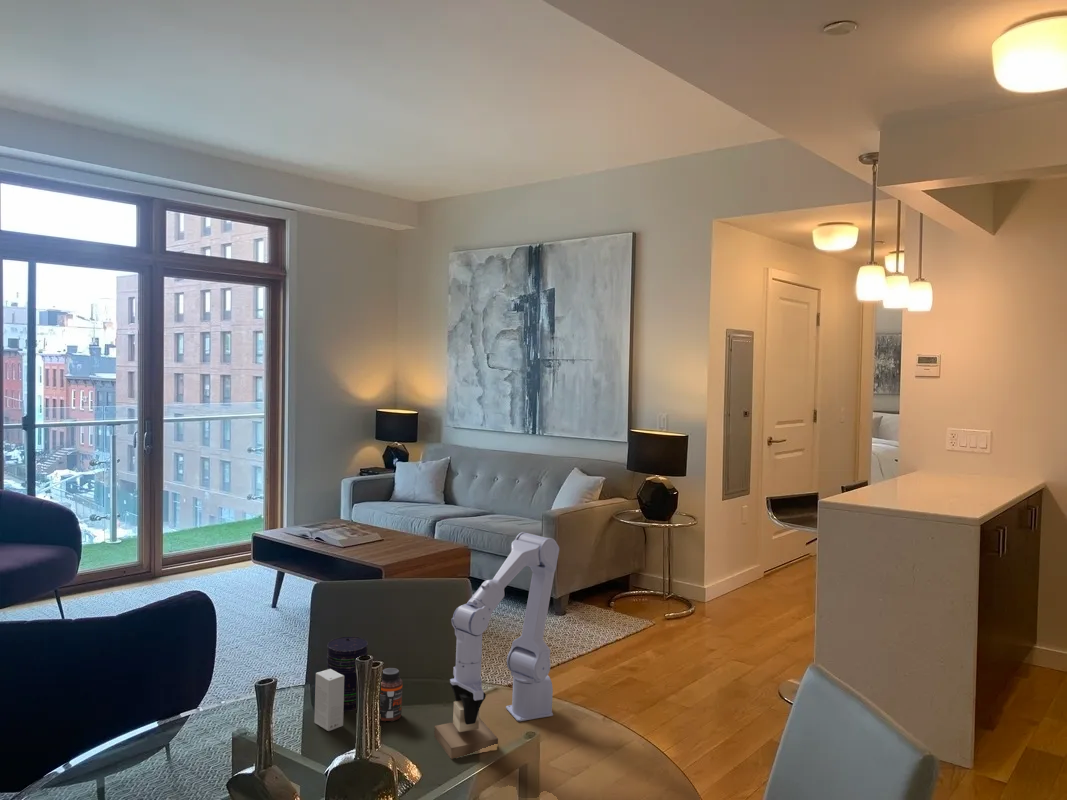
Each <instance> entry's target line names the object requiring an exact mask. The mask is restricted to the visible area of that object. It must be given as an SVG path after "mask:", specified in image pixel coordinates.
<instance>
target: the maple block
mask: <svg viewBox="0 0 1067 800" xmlns="http://www.w3.org/2000/svg"><path fill="white" fill-rule="evenodd" d="M452 712H453V713H452V715H453V716H452V722H453V724H454V725H455V727H456V728H457V729H458V731H459V732H463V731H469V730H475V729H479V718H480V710H479V711H478V715H477V718H476V722H475V723H474V724H468V725H467V724H466V723H465V718H464V708H463V703H462V700H461V701H456V700H455V701H453V711H452Z"/></svg>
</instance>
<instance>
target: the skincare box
mask: <svg viewBox="0 0 1067 800" xmlns="http://www.w3.org/2000/svg"><path fill="white" fill-rule="evenodd" d="M314 686H315V689H314V690H315V691H314V694H315V695H314V718H313V719H314V721H313V723H314V724H316V725H317V726H319V727H321V729H324V730H326V731H328V732H330V731H333V730H336V729H338V728H340V727H343V726H344V712H343V709H344V675H341V674H340V673H338V672H336V671H334V670H332V669H328V668H327V669H325V670H322V671H318V672H315V685H314Z"/></svg>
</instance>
